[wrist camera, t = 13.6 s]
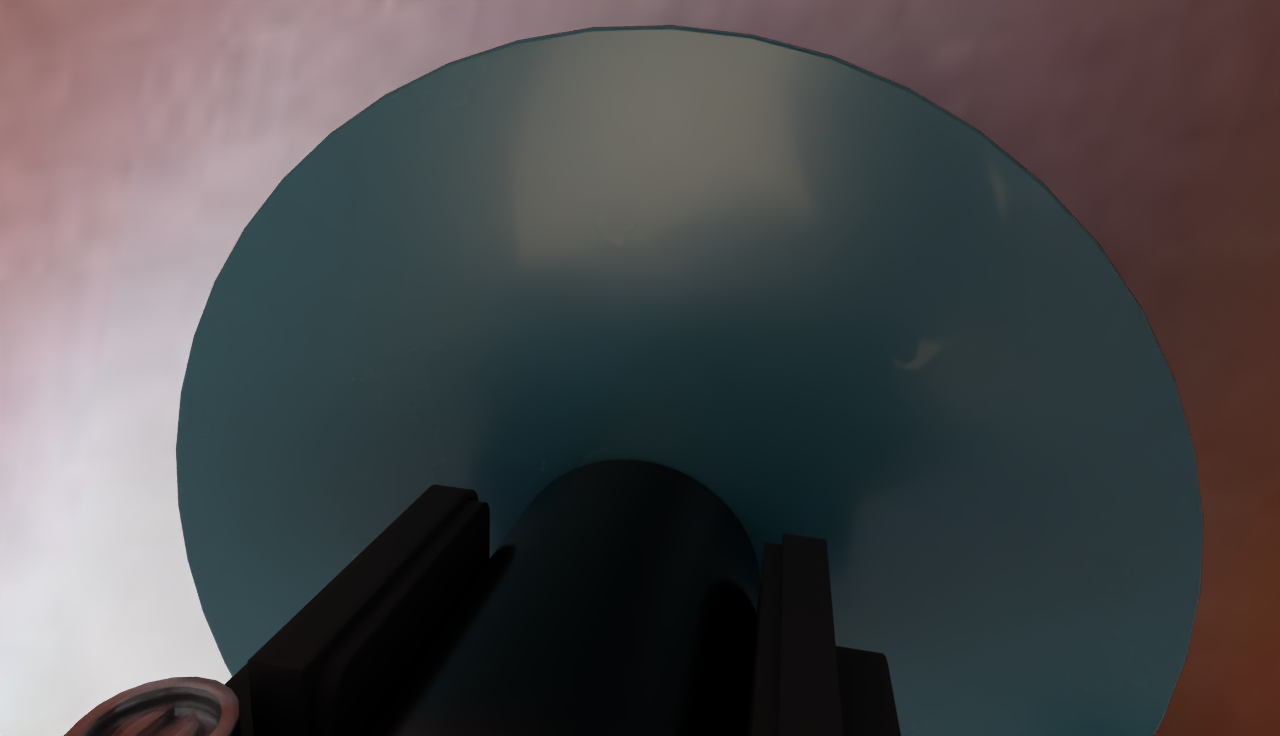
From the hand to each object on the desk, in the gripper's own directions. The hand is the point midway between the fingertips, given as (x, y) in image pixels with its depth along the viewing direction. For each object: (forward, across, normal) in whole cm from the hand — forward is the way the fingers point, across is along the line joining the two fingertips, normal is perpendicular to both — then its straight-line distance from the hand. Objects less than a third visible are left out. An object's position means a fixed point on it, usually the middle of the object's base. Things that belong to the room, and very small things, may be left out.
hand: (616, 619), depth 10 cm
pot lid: (+2, 0, 0) cm, 2 cm away
